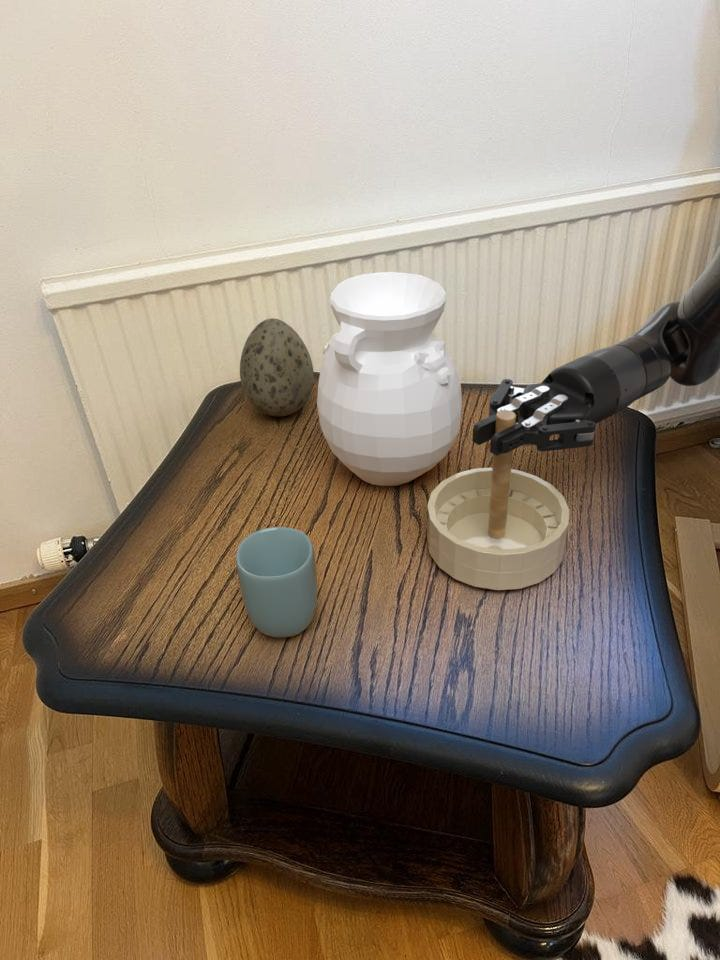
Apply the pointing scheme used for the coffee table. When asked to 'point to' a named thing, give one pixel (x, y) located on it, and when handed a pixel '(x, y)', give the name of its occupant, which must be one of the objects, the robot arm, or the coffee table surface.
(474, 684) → the coffee table surface
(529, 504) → the bowl
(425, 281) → the white vase
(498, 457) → the stick
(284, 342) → the decorative egg
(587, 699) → the coffee table surface
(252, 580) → the cup
